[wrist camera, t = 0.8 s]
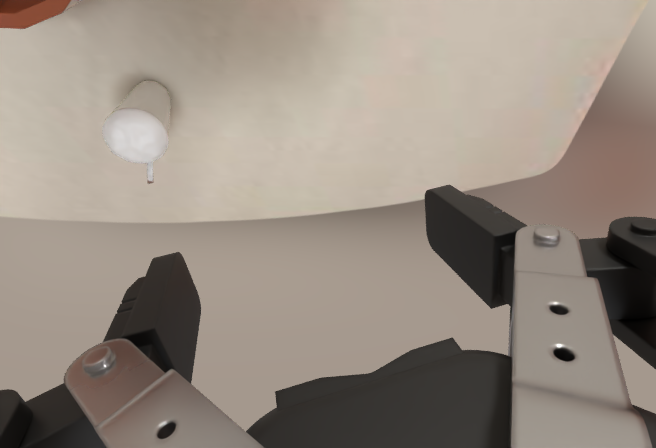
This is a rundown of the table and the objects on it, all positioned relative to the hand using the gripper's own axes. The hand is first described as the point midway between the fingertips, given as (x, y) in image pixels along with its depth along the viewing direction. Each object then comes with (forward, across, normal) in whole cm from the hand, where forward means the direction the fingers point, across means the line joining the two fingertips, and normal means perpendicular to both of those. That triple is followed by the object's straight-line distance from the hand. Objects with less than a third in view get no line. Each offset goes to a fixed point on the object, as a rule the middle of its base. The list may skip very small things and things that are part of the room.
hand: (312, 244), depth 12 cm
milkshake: (+29, +9, -3) cm, 31 cm away
